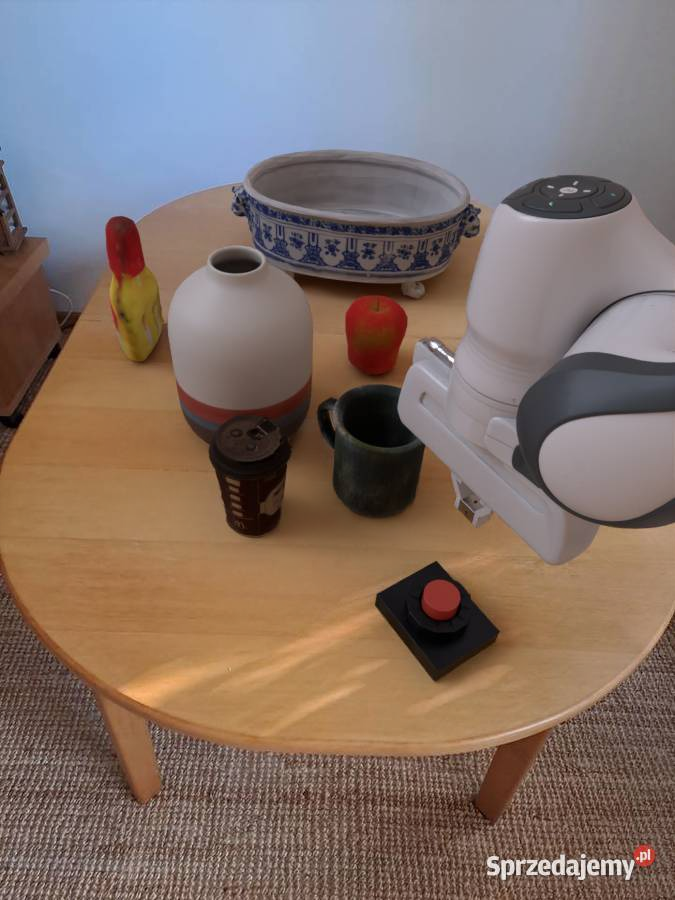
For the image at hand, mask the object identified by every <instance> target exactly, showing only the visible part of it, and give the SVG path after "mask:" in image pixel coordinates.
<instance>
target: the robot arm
mask: <svg viewBox="0 0 675 900" xmlns="http://www.w3.org/2000/svg"><path fill="white" fill-rule="evenodd" d="M474 264H475V265H474V268H473V271H472V275H471V280H470V284H469V288H468V293H467V297H466V301H465V317H466V328H465V332H464V334H463V335H462V337H461V339H460V340H459V342H458V343H457V347H456V349H455V351H453V350H451V349H449V348H448V346H447V345H446V344H445V343H444V342H443V341H442V340H440V339H439V338H437V337H436V336H432V337H422V338H420V339H419V340H418V341H417V342H415V345H414V350H413V354H412V364H411V366H410V367H409V368H408V370H407V372H406V374H405V377H404V380H403V382H402V386H401V388H402V389H401V393H400V397H399V401H398V407H397V409H398V413H399V416H400V419H401V422H402V423H403V424H404V425H405V426H406V427H407V428H408V429H409V430H410V431H411V432H412V433H413V434H414V435H415V436H416V437H417V438H418V439H419V440H420V441H422V442H423V443H424V444H425V445H426V446H425V447H427V449H428V450H430V452H432V453H433V455H435V456H436V457H437V458H438V459H439V461H441V463H443V464H444V465H445V466H446V467H447V468H448V469H449V470H450V471H451V473H450V477H451V480H452V486H453V488H454V491H455V495H456V497H455V501H454V508H455V509H457V511H459V512H460V513H461V514H462V515H463V516H464V517H465V518H466V519H467V520H468V522H469V523H470V524H471V525H472V526H473V527H474V528H475V529H479V528H480V527H482V526H485V525H486V524H488V523H489V522H490V520H491V518H492V516H493V513H494V514H495V515H496V516H497V517H498V518H499V519H500V520H501V521H502V522H503V523H505V525H506V526H507V527H509V529H511V530H512V531H513V532H514V534H516V535H517V537H519V538H520V539H521V540H522V541H523V542H524V543H525V544H526V545H527V546H528V548H530V549H531V550H532V551H533V552H534V553H535V554H536V555H537V556H538V557H539V558H540V559H541V560H542V561H543V562H544V563H545V564H547V565H549V566H563V565H565V564H567V563H570V562H571V561H572V560H574V559H576V558H577V557H579V556H580V555H581V554H583V553H584V552H585V551H587V550H588V548H590V547H591V545H592V543H593V542H594V540H595V538H596V536H597V533H598V532H599V529H600V526H603V527H608V528H614V529H625V530H627V529H628V530H629V529H630V530H643V529H654V528H656V529H657V528H661V527H666V526H668V525H671V524H675V244H674V243H673V242H672V241H670V240H669V239H668V238H667V237H666V236H664V235H663V234H662V233H661V232H660V231H659V230H658V229H657V228H656V226H654V225H653V224H652V222H651V221H650V220H649V219H648V217H647V215H645V213H644V211H643V209H642V207H641V205H640V204H639V201H638V199H637V198H636V196H635V194H634V193H632V192H631V190H629V189H628V188H627V187H625V186H624V185H622V184H620V183H617V182H615V181H612V179H611V180H610V179H608V178H605V177H601V176H595V175H587V174H558V175H556V176H549V177H541V178H537V179H535V180H533V181H530V182H528V183H526V184H524V185H522V186H521V187H519V188H516V189H515V190H514V191H513V192H511V193H510V194H509V195H508V196H506V197H505V198H503V199H502V200H501V202H500V203H499V204H498V205H497V207H496V209H495V210H494V211H493V214H492V216H491V218H490V221H489V223H488V225H487V228H486V231H485V233H484V236H483V239H482V241H481V245H480V248H479V252H478V255H477V258H476V262H475V263H474Z"/></svg>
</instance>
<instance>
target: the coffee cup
mask: <svg viewBox="0 0 675 900" xmlns="http://www.w3.org/2000/svg"><path fill="white" fill-rule="evenodd" d="M292 449H293V445H292V444H291V441H290V440H289V439H288V437H287V436H284V435H283V434H281V431H280V428H279V427H277V422H276V421H275V420H273V419H269V417H267V416H253V415H246V414H244V415H235V416H233V417H231V418H229V419H228V420H226V421H225V422H224V423H222V424H221V425H220V426H219V428H218V429H217V430H216V433H215V435H214V436H213V438H212V439H211V442H210V444H209V447H208V459H209V461H210V464H211V465H212V468H213V469H214V472H215V476H216V479H217V483H218V487H219V491H220V498H221V500H222V503H223V506H224V513H225V516H226V517H225V522H226V524H227V525H228V527H229V528H230V529H231V530H232V531H234V532H236V533H237V534H239V535H240V536H244V537H249V538H259V537H262V536H265V535H267V534H269V533H271V532H272V531H273V530H275V529H276V528H277V526H278V525H279V523H280V520H281V516H282V504H283V501H284V496H285V488H286V481H287V480H286V479H287V471H288V470H287V469H288V462H289V461H290V458H291V456H292Z"/></svg>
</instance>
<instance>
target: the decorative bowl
mask: <svg viewBox="0 0 675 900" xmlns="http://www.w3.org/2000/svg"><path fill="white" fill-rule="evenodd" d="M230 192H232V193H233V194H234V195H233V196H232V197H231V206H230V210H231V212H232V213H233V214H234V216H236V217H238V218H239V217H241V218H244V217H245V218H247V223H248V229H249V231H250V233H251V235H252V246H253V248H255V249H257V250H259V251H260V252H262V253H263V254H264V256H265V258H266V261H267V263H268V264H270V265H273V266H275V267H277V268H279V269H280V270H282V271H283V272H285V273H286V274H288V275H289V276H290V277H291V278H293V279H294V280H295V278H294V276H295V273H296V274H301V275H305V276H312V277H317V278H323V279H327V280H337V281H343V282H345V281H346V282H355V283H365V284H400V292H401V293H402V294H403V295H404V296H409V297H410V298H414V299H420V298H422V296H424V295H425V292H426V289H425V285H424V284H423V283H422V282H421V281H425V280H428V279H431V278H433V277H435V276H437V275H439V274H441V273H442V272H444V271H445V270H446V269H447V268H448V267H449V265H450V263H451V259H452V256H453V254H454V252H455V250H456V249H457V248H458V246H459V245H460V244H461V242H462V241H461V240H462V239H461V238H462V236H463V237H465V238H467V239H472V238H475V237H477V235H479V234H480V233H481V219H480V218H479V215H480V214H481V213H482V209H481V207H475V206H474V204H472V203H470V201H471V194H470V191H469V189H468V187H467V186H466V184H465V183H464V182H463V181H462V180H461V179H460V178H459V177H458V176H457V175H455V174H453V173H452V172H450V171H448V170H447V169H445V168H442V167H440V166H437V165H435V164H432V163H430V162H427V161H423V160H420V159H418V158H417V159H416V158H413V157H409V156H403V155H396V154H391V153H385V152H378V151H377V152H376V151H365V150H351V149H319V150H318V149H317V150H305V151H295V152H290V153H284V154H283V153H282V154H278V155H274V156H271V157H268V158H266V159H264V160H261V161H259V162H257V163H256V164H254V165H252V167H251V168H249V170H248V171H247V172H246V174H245V176H244V178H243V182H242V184H241V185H237V186H232V187H231V191H230Z"/></svg>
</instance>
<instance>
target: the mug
mask: <svg viewBox="0 0 675 900" xmlns="http://www.w3.org/2000/svg"><path fill="white" fill-rule="evenodd" d="M401 389H402V387H399V386H395V385H391V384H384V383H369V384H363V385H358V386H355V387H353V388H351V389H349V390H346V392H344V393H343V394H341V395H340V396H339V397H338V398H335V397H333V396H330V397H328V398H327V399H325V400H323V401H321V402H320V403H319V405H317V410H316V418H317V419H316V420H317V425H318V428H319V431H320V434H321V436H322V438H323V440H324V441H325V443H326V444H327V446H329V447H330V448H331V449H332V450H333V465H332V466H333V467H332V488H333V491H334V493H335V495H336V497H337V498H338V499H339V501H341V502H342V504H343V505H344V506H345V507H347V508H348V509H350V510H351V511H353V512H355V513H356V514H360V515H362V516H366V517H372V518H386V517H390V516H394V515H397V514H399V513H401V512H403V511H404V510H406V509H407V508H408V507H410V506H411V505H412V503H413V502H414V500H415V499H416V495H417V491H418V485H419V481H420V476H421V471H422V466H423V462H424V455H425V450H426V447H427V446H426V445H425V444H424V443H423V442H422V441H420V440H419V439H418V438H417V437H416V436H415V435H414V434H413V433H412V432H411V431H410V430H409V429H408V428H407V427H406V426H405V425H404V424H403V423H402V422H401V419H400V416H399V413H398V409H397V407H398V401H399V397H400V393H401ZM330 411H331V412H332V418H331V415H330ZM331 419H332V420H333V422H332V420H331ZM334 426H335V428H334Z"/></svg>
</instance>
